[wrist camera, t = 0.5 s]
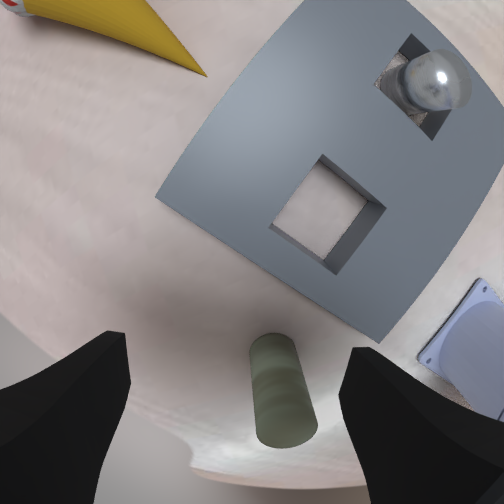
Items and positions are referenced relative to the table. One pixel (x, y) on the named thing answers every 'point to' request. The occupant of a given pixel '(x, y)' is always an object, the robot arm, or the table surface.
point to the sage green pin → (280, 393)
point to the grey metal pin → (428, 83)
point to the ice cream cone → (113, 23)
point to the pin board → (342, 159)
